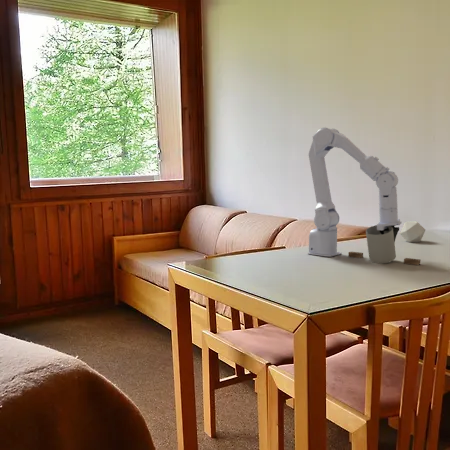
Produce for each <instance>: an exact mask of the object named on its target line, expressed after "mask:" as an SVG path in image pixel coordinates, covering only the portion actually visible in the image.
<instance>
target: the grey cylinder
mask: <svg viewBox="0 0 450 450" xmlns="http://www.w3.org/2000/svg"><path fill="white" fill-rule="evenodd" d="M388 228H389V231H384V234H383V235H382V234H381V233H380V230H377V224H376V225H372V226H369V227H368V228H366V230H365V236H366V237H365V238H366V242H367V243H366V245H367V252H368V258H369V260H370V262H372V263H376V264H387V263H391V262H393V261H394V260H395V259H396V257H397V254H396V246H395V244H396V242H395V243H394V234H393V228H392V227H391V226H389V227H388Z"/></svg>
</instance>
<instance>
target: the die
mask: <svg viewBox="0 0 450 450" xmlns="http://www.w3.org/2000/svg"><path fill="white" fill-rule="evenodd" d="M425 232H426V229H425V227H424V226H422V225H421V224H420V223H419V221H416V220H415V221H405V222H404V223H403V225H402V228H401V230H400V233H399V235H400V236H401V237H403V239H405V241H406V242H407V243H420V242H422V239H423V237H424V236H425V235H424V234H425Z"/></svg>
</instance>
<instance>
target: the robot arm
mask: <svg viewBox="0 0 450 450" xmlns="http://www.w3.org/2000/svg"><path fill="white" fill-rule="evenodd" d="M333 148H336V149H342V150H343V151H344V152H346V154H348V155H349V156H350V157H351V158H353V160H355V161H356V162H358V163H359V169H360V170H361V171H362V172H363V173H364V174H366V176H368V177H369V178H370V179H371V180H372V181H373V182H375V185H376V187H377V188H378V202H379V203H378V207H379V208H378V209H379V210H378V211H379V212H378V213H379V221H378V223H376V225H377V230H380V233H381V234H382V235H383V234H384V231H389V228H388V227H389V226H391V227H392V228H393V234H394V243H395V244H396V239H397V235H398V234H399V231H400V227H399V226H400V225H401V224H402V221H401V219H400V218H399V214H398V193H397V192H398V191H397V185H398V183H399V177H398V175H397V174H396V172H394V171H391V170H390V167H388V166H385V165H383V163H381V161H379V158H378V157H377V156H375V157H374V156H373V155H366V154H365V153H364V152H363V151H362V150H361V149H360V148H359V147H358V146H357V145H356V144H355V143H354V142H352V141H351V140H350V139H349V138H348V137H347V136H346V135H345V134H343V133H341V132H340V131H339V130H338V129H335V128H328V127H320V128H319V129H318V130H317V131H316V132H315V133H314V134H313V135H312V142H311V145H310V148H309V151H308V160H309V165H310V172H311V176H312V183H313V189H314V195H315V201H316V205H315V209H314V212H315V213H314V214H315V215H314V218H313V223H314V225H315V227H316V228H313V229H311V230H310V232H309V234H308V252H307V255H313V256H321V257H330V258H332V257H335V256H339V255H341V254H342V252H341V251H338V227H337V225H338V224H339V223H340V215H339V213H338V212H337V210H336V206H335V204H334V203H333V201H332V195H331V189H330V188H331V187H330V183H329V177H328V171H327V166H326V165H327V164H326V160H325V158H326V156H327V154H328V153H329V152H330V151H331V150H332V149H333ZM397 226H398V227H397Z"/></svg>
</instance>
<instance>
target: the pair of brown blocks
mask: <svg viewBox="0 0 450 450" xmlns="http://www.w3.org/2000/svg"><path fill="white" fill-rule="evenodd" d="M348 257H349V258H357V259H362V258H364V252H359V251H358V252H357V251H349V252H348ZM403 264H406V265H412V264H413V265H412V266H419V264H420V265H421V259H418V258H410V257H409V258H408V257H404V259H403Z"/></svg>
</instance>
